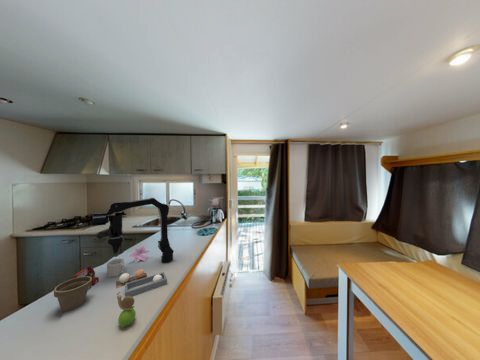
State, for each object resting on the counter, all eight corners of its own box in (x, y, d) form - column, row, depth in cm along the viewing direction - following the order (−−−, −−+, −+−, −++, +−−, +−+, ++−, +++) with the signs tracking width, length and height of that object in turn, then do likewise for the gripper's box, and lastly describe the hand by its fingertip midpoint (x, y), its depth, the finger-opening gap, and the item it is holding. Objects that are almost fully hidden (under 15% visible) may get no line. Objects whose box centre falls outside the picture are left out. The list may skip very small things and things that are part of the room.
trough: (163, 278, 90) (163, 272, 90) (166, 286, 83) (166, 279, 83) (125, 291, 79) (125, 283, 79) (125, 300, 73) (125, 292, 73)
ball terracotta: (144, 274, 92) (144, 266, 92) (145, 278, 89) (145, 269, 89) (134, 277, 89) (134, 269, 90) (135, 281, 86) (135, 272, 86)
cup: (131, 272, 96) (131, 258, 96) (120, 280, 88) (120, 265, 88) (115, 271, 97) (115, 258, 97) (102, 279, 89) (102, 264, 89)
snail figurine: (121, 318, 63) (122, 287, 63) (138, 317, 64) (139, 287, 64) (111, 331, 58) (112, 297, 58) (130, 330, 58) (130, 296, 59)
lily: (124, 265, 106) (127, 254, 103) (133, 251, 117) (136, 241, 114) (143, 268, 109) (146, 258, 106) (150, 255, 120) (153, 245, 117)
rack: (146, 274, 94) (146, 271, 94) (147, 280, 88) (147, 277, 88) (116, 283, 86) (116, 280, 86) (115, 290, 80) (115, 287, 80)
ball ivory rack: (129, 278, 88) (129, 270, 88) (129, 282, 84) (129, 274, 84) (119, 281, 85) (119, 273, 85) (118, 286, 82) (119, 277, 82)
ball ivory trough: (161, 280, 88) (161, 271, 88) (162, 284, 84) (163, 275, 84) (151, 283, 85) (152, 274, 85) (153, 287, 81) (153, 278, 81)
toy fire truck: (101, 281, 88) (101, 261, 88) (82, 296, 75) (83, 274, 76) (86, 282, 86) (87, 262, 87) (65, 298, 74) (66, 275, 74)
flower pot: (74, 296, 75) (75, 275, 75) (98, 297, 75) (98, 275, 75) (43, 317, 64) (44, 291, 64) (71, 318, 63) (72, 292, 64)
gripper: (99, 222, 95) (98, 248, 95) (95, 229, 80) (94, 261, 80) (122, 219, 102) (122, 244, 101) (122, 226, 87) (122, 255, 87)
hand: (115, 250), depth 92 cm, fingers open, 9 cm apart
